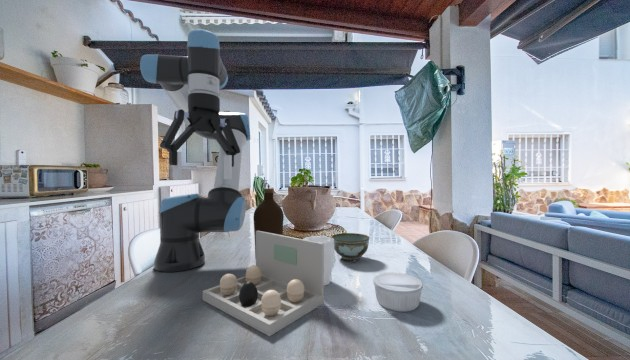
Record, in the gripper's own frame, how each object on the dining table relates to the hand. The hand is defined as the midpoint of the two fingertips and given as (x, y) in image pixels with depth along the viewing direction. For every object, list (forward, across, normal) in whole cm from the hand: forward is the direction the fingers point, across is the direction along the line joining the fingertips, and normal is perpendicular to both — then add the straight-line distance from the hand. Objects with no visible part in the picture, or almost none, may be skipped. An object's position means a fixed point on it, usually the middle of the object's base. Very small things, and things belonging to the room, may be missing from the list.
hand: (204, 179), depth 69 cm
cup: (+29, +23, -19) cm, 42 cm away
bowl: (+29, +47, -15) cm, 57 cm away
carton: (+29, +5, -16) cm, 33 cm away
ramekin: (+29, +25, -41) cm, 56 cm away
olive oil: (+29, +29, +8) cm, 42 cm away
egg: (+28, +1, -16) cm, 32 cm away
